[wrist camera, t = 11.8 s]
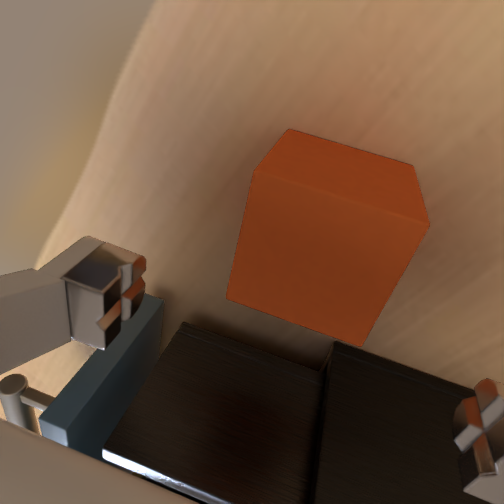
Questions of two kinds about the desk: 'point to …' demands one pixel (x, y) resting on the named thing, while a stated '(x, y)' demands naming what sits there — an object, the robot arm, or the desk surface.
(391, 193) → the block
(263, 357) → the drawer
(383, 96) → the desk surface
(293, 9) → the desk surface
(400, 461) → the cabinet
